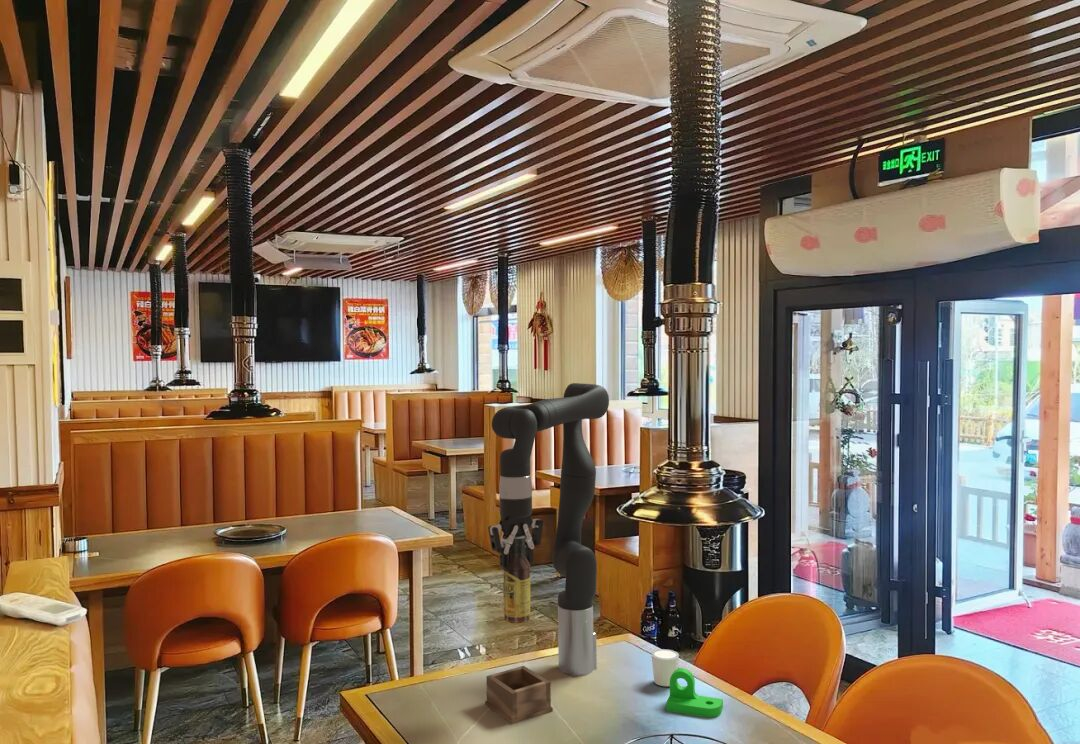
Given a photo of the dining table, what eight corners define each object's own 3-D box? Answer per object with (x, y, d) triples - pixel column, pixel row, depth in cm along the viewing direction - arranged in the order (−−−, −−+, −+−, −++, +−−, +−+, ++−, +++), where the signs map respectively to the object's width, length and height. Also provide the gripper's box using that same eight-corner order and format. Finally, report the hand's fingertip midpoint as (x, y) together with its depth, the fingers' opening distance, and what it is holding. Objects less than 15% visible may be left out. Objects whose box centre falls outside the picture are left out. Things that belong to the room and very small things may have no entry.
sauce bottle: (499, 617, 182) (498, 533, 182) (524, 613, 185) (522, 530, 184) (510, 626, 176) (508, 540, 176) (535, 622, 179) (533, 536, 178)
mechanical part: (666, 710, 180) (666, 676, 180) (671, 699, 185) (671, 666, 185) (719, 719, 176) (718, 683, 175) (722, 707, 181) (722, 673, 181)
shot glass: (662, 673, 200) (662, 646, 200) (684, 681, 195) (684, 653, 195) (646, 681, 195) (645, 654, 195) (668, 690, 190) (668, 661, 190)
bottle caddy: (524, 693, 189) (523, 664, 189) (552, 712, 179) (552, 682, 179) (485, 705, 183) (484, 676, 183) (512, 725, 173) (511, 694, 173)
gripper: (532, 488, 187) (533, 558, 188) (480, 495, 179) (481, 568, 179) (550, 493, 181) (551, 565, 181) (497, 500, 173) (498, 576, 173)
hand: (516, 566), depth 180 cm, fingers closed on sauce bottle, 5 cm apart
